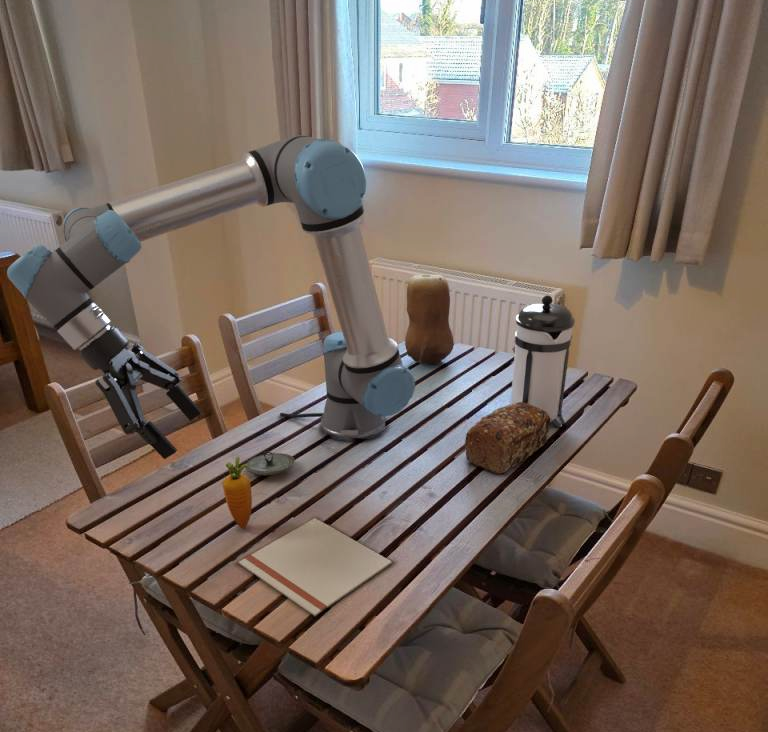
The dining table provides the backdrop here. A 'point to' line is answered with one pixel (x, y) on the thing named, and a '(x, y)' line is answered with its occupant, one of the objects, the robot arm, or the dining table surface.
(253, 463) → the lid
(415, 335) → the butternut squash
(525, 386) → the coffee press
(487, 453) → the bread
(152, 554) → the dining table surface
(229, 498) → the carrot
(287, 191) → the robot arm
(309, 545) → the napkin
